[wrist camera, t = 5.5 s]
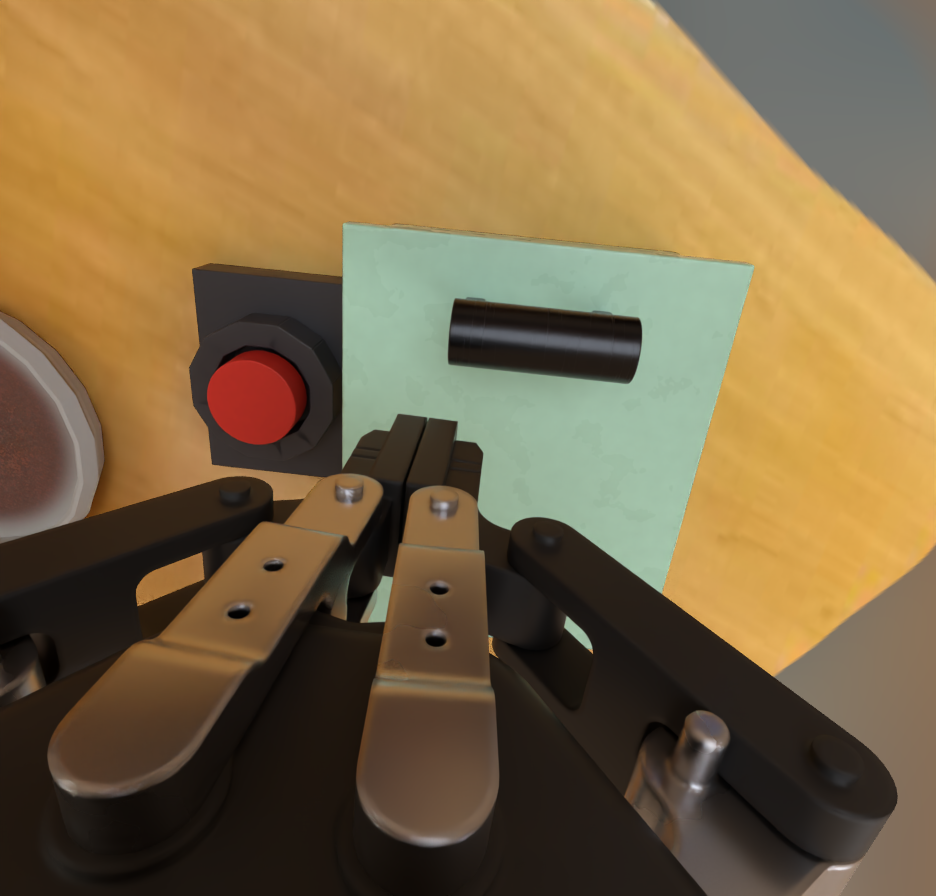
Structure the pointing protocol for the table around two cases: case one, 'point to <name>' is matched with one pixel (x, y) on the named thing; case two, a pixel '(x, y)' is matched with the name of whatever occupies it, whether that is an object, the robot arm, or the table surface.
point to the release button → (257, 397)
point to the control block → (285, 334)
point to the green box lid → (545, 373)
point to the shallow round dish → (43, 437)
